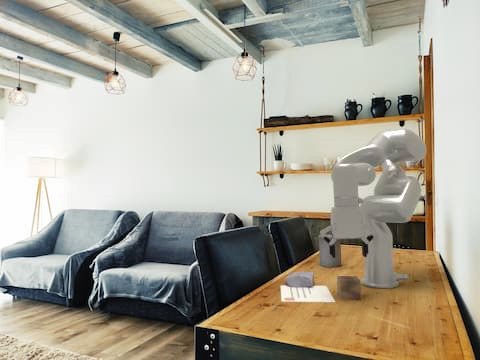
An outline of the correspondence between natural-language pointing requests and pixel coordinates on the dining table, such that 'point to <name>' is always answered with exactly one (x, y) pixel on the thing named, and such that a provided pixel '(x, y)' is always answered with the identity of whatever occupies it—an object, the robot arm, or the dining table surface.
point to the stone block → (300, 279)
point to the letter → (306, 294)
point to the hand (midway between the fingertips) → (349, 256)
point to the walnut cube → (349, 287)
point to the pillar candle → (324, 252)
